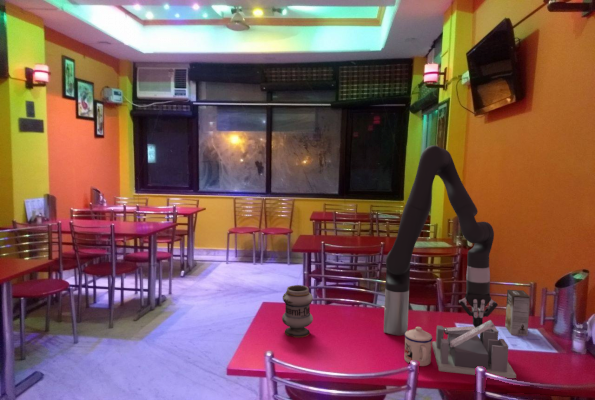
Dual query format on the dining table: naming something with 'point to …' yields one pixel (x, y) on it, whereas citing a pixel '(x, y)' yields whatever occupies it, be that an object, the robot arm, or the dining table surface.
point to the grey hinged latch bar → (460, 329)
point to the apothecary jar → (297, 310)
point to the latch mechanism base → (473, 354)
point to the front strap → (471, 334)
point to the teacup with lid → (418, 346)
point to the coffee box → (517, 312)
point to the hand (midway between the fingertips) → (477, 327)
